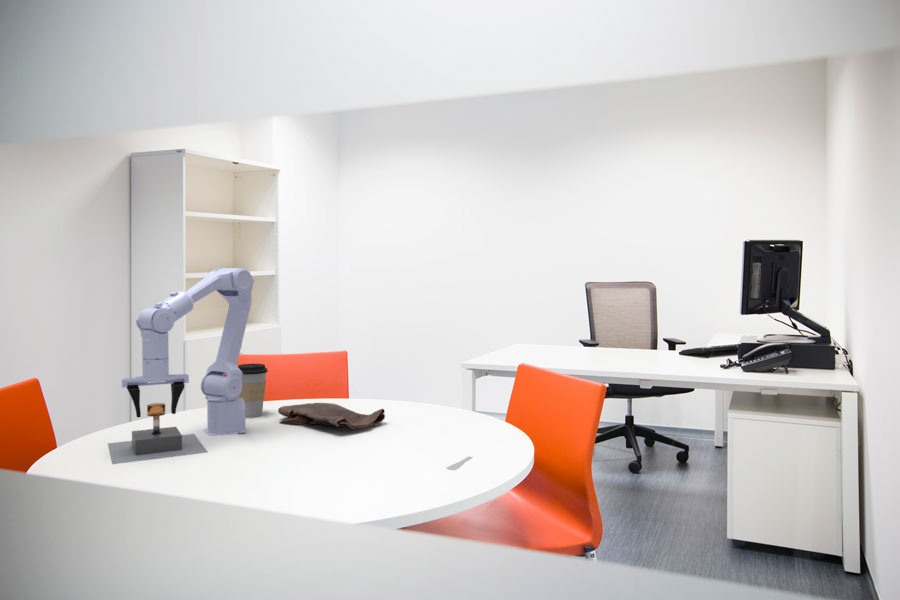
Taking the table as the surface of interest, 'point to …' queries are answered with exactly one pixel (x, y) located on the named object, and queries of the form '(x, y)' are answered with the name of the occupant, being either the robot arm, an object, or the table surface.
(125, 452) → the board
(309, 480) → the table surface
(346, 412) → the folded brown cloth
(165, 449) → the block
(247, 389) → the coffee cup
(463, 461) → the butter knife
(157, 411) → the plunger
